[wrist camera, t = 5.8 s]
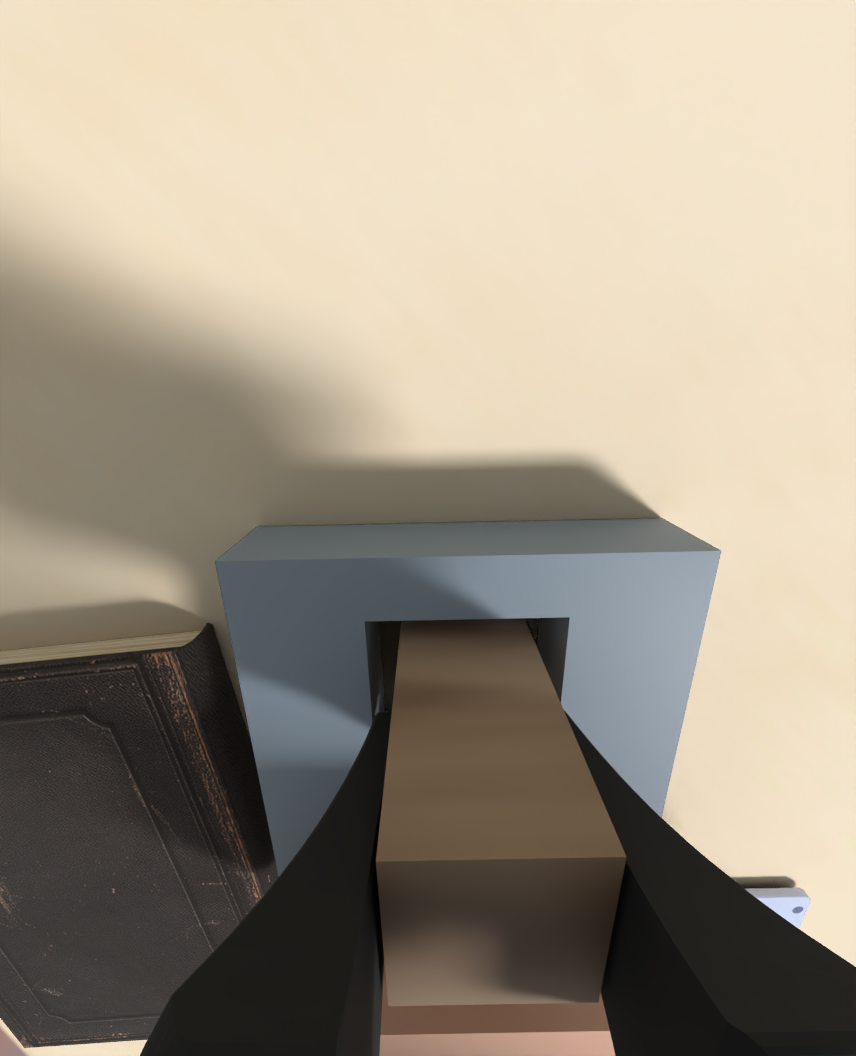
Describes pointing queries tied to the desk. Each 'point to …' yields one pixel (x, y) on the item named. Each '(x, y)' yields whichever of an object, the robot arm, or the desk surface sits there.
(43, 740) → the hardcover book
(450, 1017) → the salmon pink block
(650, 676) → the socket block
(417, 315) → the desk surface
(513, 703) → the walnut peg
